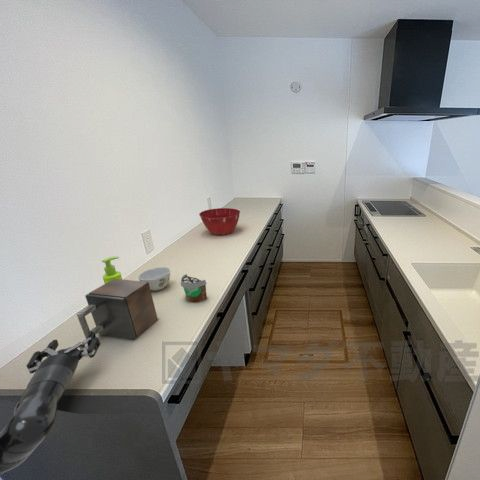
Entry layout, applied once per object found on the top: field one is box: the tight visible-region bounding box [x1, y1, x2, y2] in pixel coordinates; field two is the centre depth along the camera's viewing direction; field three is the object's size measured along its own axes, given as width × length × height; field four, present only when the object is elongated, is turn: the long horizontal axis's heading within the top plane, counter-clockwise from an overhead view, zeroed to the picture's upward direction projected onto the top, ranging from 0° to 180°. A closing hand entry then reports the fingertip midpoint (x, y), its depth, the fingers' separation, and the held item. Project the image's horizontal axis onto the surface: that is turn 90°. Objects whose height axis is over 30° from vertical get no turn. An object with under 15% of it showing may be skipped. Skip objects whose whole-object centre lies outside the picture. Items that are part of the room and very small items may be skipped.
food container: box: [180, 273, 208, 303], centre depth 113 cm, size 12×6×10 cm, turn 65°
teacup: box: [137, 266, 171, 292], centre depth 121 cm, size 15×12×8 cm
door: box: [76, 293, 137, 341], centre depth 87 cm, size 6×14×17 cm, turn 81°
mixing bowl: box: [199, 207, 241, 236], centre depth 195 cm, size 28×28×15 cm
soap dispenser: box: [101, 256, 123, 284], centre depth 109 cm, size 6×7×20 cm
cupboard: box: [88, 278, 159, 339], centre depth 94 cm, size 10×14×17 cm
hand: (74, 337), depth 80 cm, fingers open, 8 cm apart
